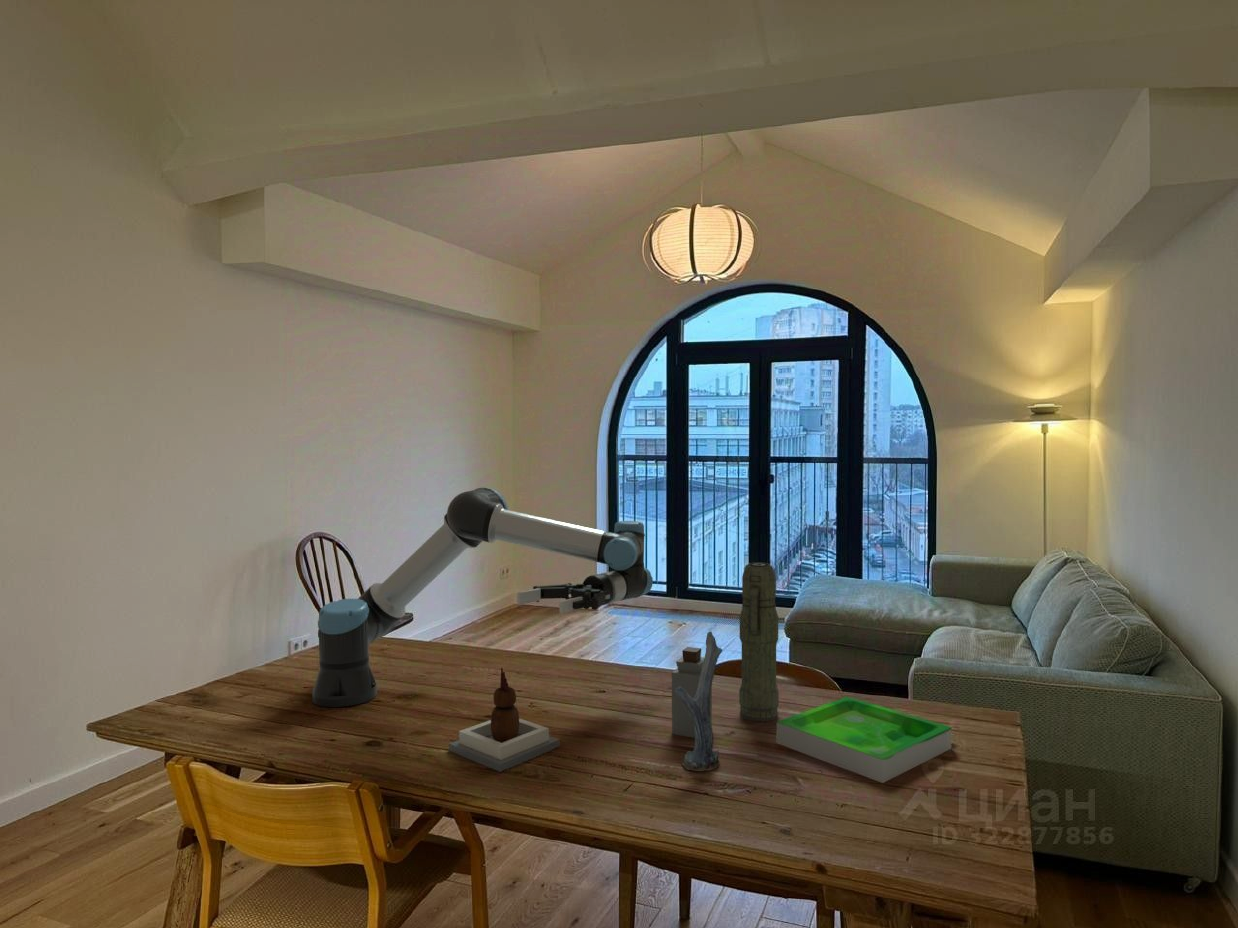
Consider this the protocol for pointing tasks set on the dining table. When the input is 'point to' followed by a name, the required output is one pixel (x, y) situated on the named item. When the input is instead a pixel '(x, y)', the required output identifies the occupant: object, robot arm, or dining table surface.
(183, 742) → the dining table surface
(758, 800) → the dining table surface
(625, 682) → the dining table surface
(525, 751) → the socket plinth
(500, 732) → the wooden figurine
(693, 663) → the perfume bottle
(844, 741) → the tray
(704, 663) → the antler
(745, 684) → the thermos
